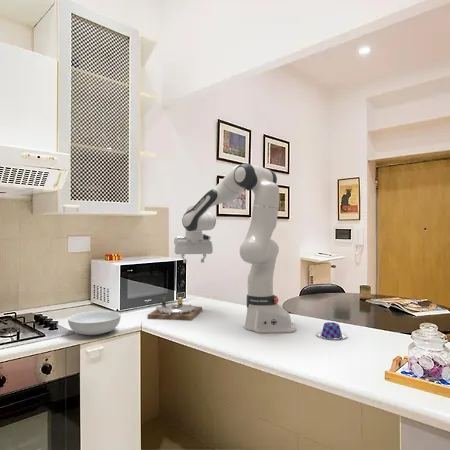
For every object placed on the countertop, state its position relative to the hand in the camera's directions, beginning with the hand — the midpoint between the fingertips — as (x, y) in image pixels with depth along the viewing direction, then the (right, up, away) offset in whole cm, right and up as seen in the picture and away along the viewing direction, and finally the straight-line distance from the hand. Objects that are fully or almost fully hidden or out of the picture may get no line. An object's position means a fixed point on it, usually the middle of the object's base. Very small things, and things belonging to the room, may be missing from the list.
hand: (193, 262), depth 196 cm
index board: (-8, -25, -9) cm, 28 cm away
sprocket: (-8, -23, -9) cm, 26 cm away
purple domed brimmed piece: (+59, -25, -49) cm, 81 cm away
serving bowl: (-38, -25, -42) cm, 62 cm away
